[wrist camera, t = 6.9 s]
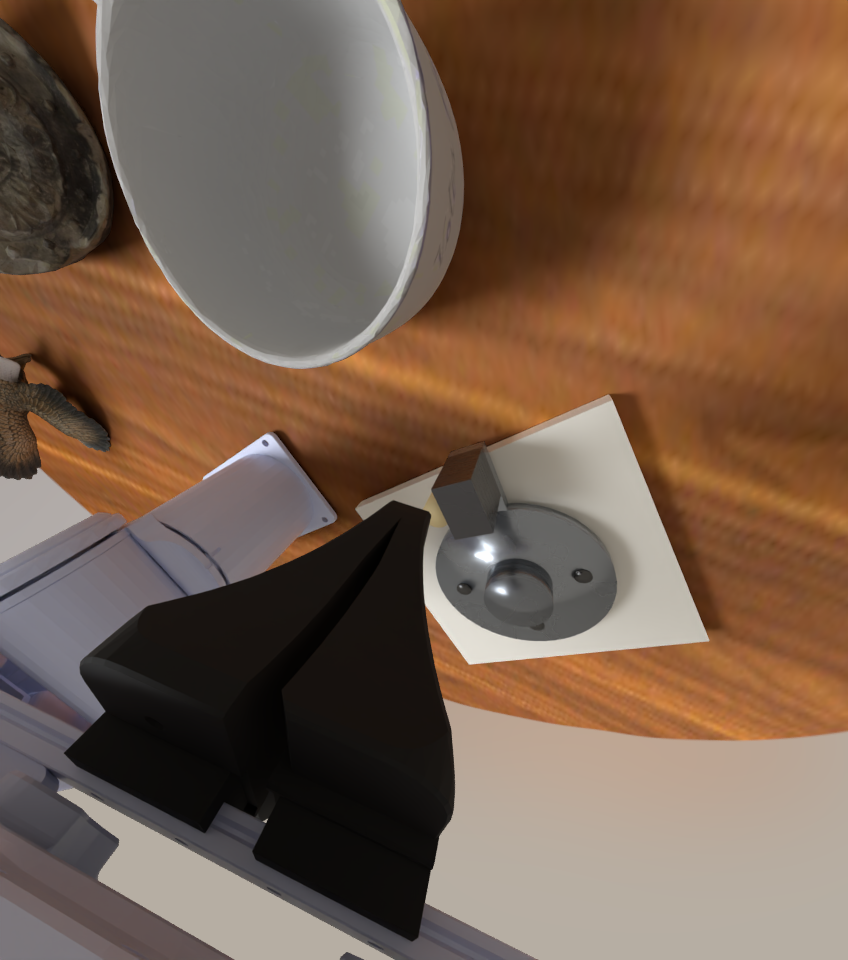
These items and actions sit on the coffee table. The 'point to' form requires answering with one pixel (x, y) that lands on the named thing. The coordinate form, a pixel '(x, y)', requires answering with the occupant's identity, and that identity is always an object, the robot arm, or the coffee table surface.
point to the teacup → (284, 165)
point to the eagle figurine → (8, 399)
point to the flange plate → (516, 557)
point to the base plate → (595, 503)
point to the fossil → (46, 167)
